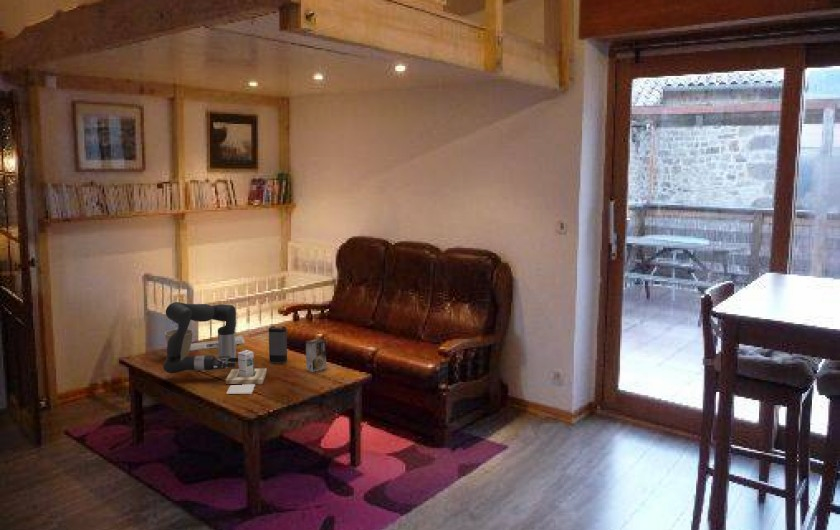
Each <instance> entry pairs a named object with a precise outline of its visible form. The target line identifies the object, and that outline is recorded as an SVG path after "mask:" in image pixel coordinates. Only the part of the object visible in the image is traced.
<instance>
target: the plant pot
mask: <svg viewBox="0 0 840 530" xmlns="http://www.w3.org/2000/svg"><path fill="white" fill-rule="evenodd" d="M177 330H178V328H177V329H170V330H167V331H165V332H164V337H165V341H166V345H168V340H169V338H170V337H171V336H172V335H173V334H174V333H175V332H176V331H177ZM193 334H194V331H193V329H189V328H187V331H186V334H185V336H184V339H183V344H182V350H181V359H180V361H181V360H183V359H184V358H185V357H187V356H189V354H190V352H189V351H190V347H191V344H192V341H193Z"/></svg>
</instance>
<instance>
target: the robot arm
mask: <svg viewBox="0 0 840 530" xmlns="http://www.w3.org/2000/svg"><path fill="white" fill-rule="evenodd" d="M165 315H166V317H167V318H168V319H169V320H170V321H172V322H174V323H175V324H177V329H178V330H177V331H176V332H175V333H174V334H173V335H172V336H171V337H170V338H169V340H168V345H167V344H166V345H167V347H166V357H165V359H164V360H165V361H164V362H163V367H162V368H163V371H165V373H169V374H178V373H181V372H185V371H214V370H225V369H227V368H235V367H236V363H238V357H237V351H236V350H237V349H236V346H237V345H236V346H235V337H236V326H237V324H236V323H237V320H236V319H237V312H236V307H235V306H234V305H232V304H224V303H223V304H216V305H214V304H213V305H210V304H207V303H184V302H179V301H175V302H172V303H170V304H168V305H167V307H166V308H165ZM210 320H214V321H217V322H225V325H223V326H220V327H218V328H217V340H218V348H217V358H216V356H215V355H214V354H213V355H196V356H195V355H193V356H191V355H188V356H187V357H185V358H184V359H183V360H181V361H180V359H181V350H182V344H183V339H184V336H185V334H186V331H187V329H189V326H190V323H191V321H194V322H198V323H201V322H210Z"/></svg>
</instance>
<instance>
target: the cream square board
mask: <svg viewBox="0 0 840 530" xmlns="http://www.w3.org/2000/svg"><path fill="white" fill-rule="evenodd" d="M267 368H268V367H267ZM267 368H254V371H255V376H254V377H239V368H232V369H231V370H230V373H229V374H228V376H227V377H226V379H225V385H226V384H242V385H245V384H255V385H262V384H263V383H264V380H265V378H266V375H267V372H268V370H267Z"/></svg>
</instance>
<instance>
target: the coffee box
mask: <svg viewBox="0 0 840 530" xmlns="http://www.w3.org/2000/svg"><path fill="white" fill-rule="evenodd" d="M326 344H327V343H326V340H324V339H323V338H315V339H312V340H306V341H305V359H306V360H305V362H306V363H305V364H306V366H305V367H306V369H305V370H307V371H308V370H309V371H308V372H311V373H315V371H316V372H319V370H320V371H323V369H324V370H326V369H327V353H326V352H327V348H326V347H327V345H326Z"/></svg>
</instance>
